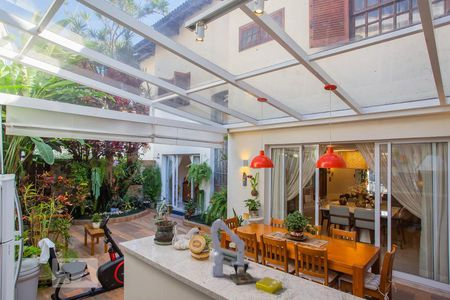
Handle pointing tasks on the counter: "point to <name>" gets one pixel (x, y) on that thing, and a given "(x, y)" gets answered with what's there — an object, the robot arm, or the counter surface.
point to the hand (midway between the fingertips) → (240, 273)
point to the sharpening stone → (228, 256)
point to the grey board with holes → (239, 279)
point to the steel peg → (240, 271)
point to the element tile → (269, 285)
